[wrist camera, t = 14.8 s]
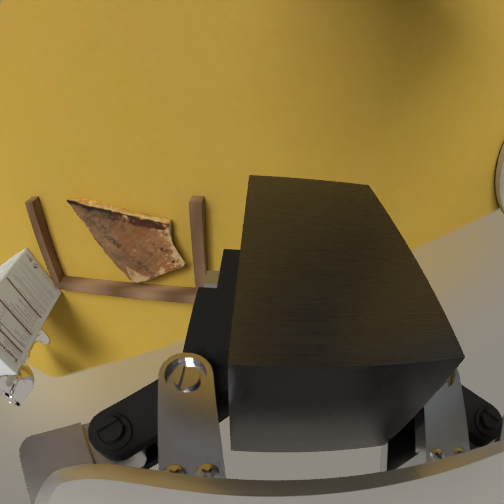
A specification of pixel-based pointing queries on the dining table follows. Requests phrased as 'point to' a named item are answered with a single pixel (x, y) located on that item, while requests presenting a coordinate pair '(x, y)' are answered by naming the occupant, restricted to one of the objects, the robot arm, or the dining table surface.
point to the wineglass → (20, 378)
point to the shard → (131, 239)
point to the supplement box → (22, 308)
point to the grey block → (329, 322)
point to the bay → (125, 287)
